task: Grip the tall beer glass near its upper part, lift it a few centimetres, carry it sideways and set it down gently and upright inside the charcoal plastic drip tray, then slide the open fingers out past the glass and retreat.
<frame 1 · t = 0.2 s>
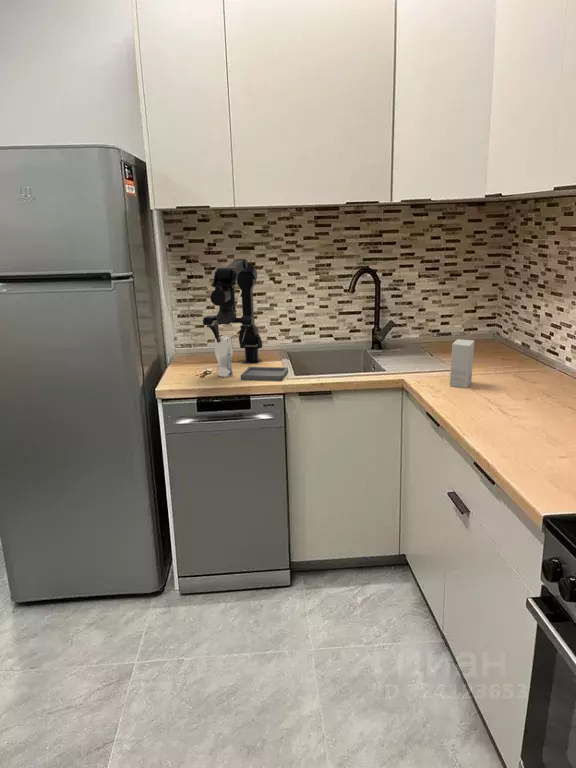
hand: (230, 342, 224), 14 cm above the worktop, fingers open, 9 cm apart
beer glass: (225, 375, 232), on the worktop, touching gripper
drip tray: (265, 376, 229), on the worktop
skincare box: (461, 385, 210), on the worktop
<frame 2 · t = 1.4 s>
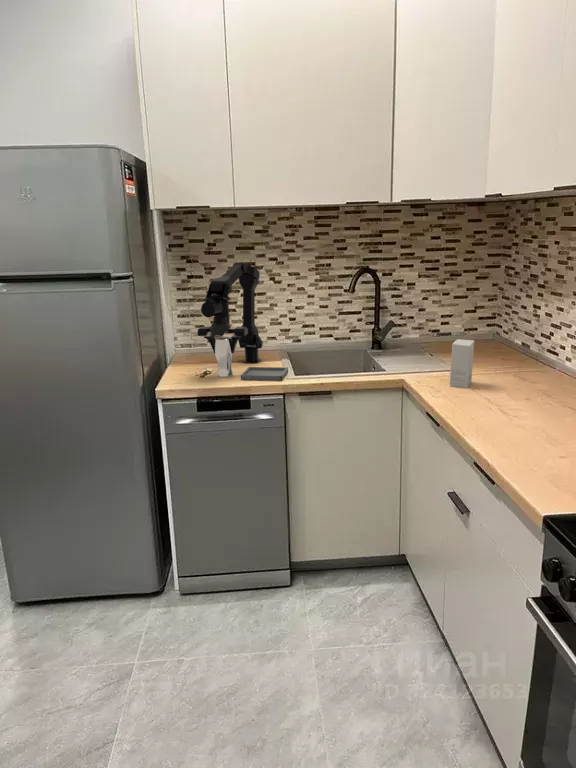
hand: (224, 353, 229), 9 cm above the worktop, fingers closed on beer glass, 7 cm apart
beer glass: (225, 376, 232), on the worktop, touching gripper
everything else where it was.
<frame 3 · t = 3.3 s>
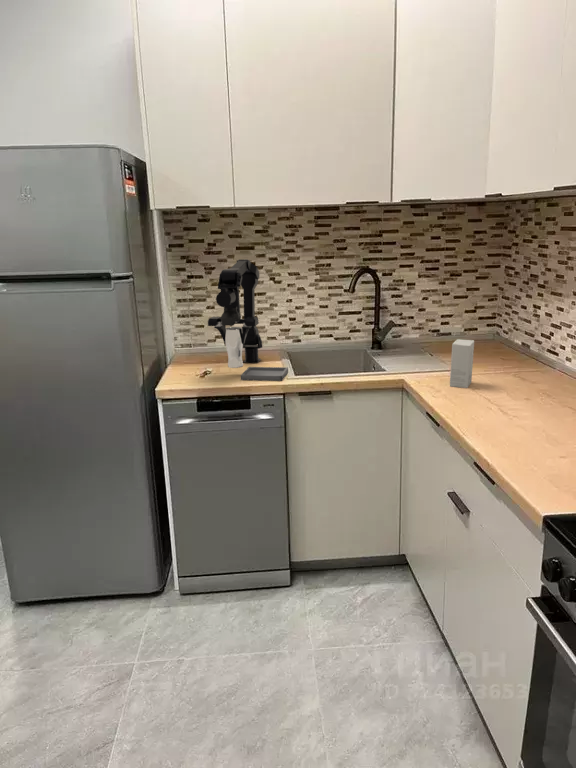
hand: (234, 343, 228), 13 cm above the worktop, fingers closed on beer glass, 7 cm apart
beer glass: (235, 366, 230), point 4 cm above the worktop, touching gripper
everything else where it was.
when the fingers open (11 cm above the worktop, at t = 5.2 s): beer glass stays where it is, resting on drip tray.
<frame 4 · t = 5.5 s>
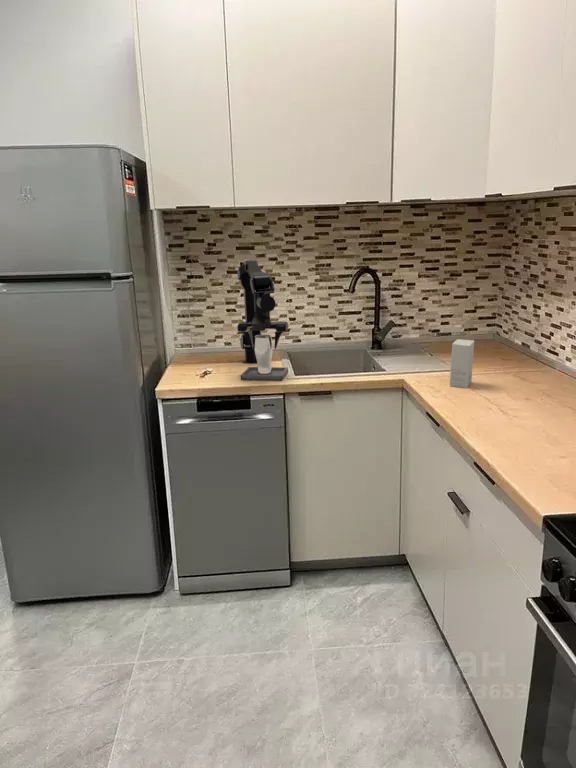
hand: (263, 348, 226), 11 cm above the worktop, fingers open, 9 cm apart
beer glass: (264, 374, 229), point 1 cm above the worktop, touching drip tray
everything else where it was.
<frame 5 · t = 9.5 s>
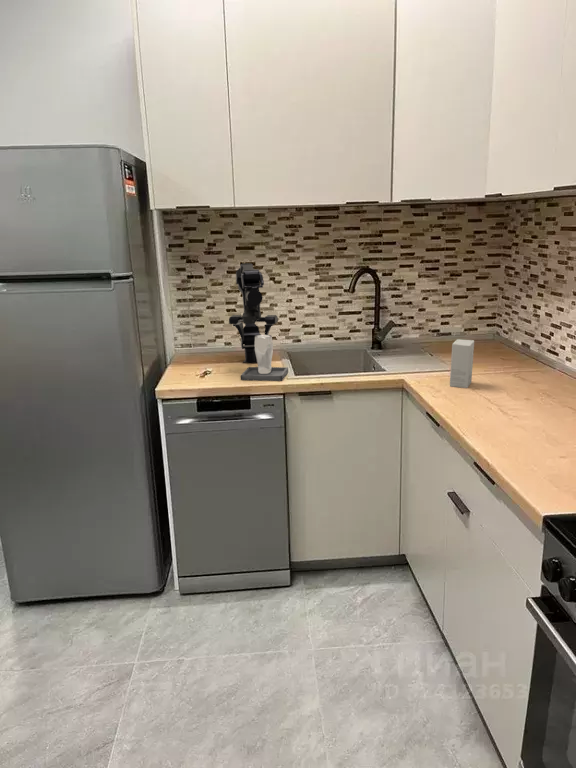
hand: (254, 340, 236), 12 cm above the worktop, fingers open, 9 cm apart
nothing on the worktop moved.
at the end: beer glass inside the target area on the drip tray (0.1 cm from its centre), point 0.6 cm above the drip tray's base; beer glass tilted 0°; the gripper is holding nothing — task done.
